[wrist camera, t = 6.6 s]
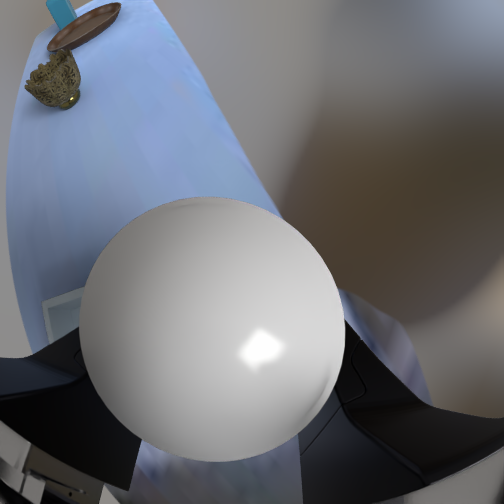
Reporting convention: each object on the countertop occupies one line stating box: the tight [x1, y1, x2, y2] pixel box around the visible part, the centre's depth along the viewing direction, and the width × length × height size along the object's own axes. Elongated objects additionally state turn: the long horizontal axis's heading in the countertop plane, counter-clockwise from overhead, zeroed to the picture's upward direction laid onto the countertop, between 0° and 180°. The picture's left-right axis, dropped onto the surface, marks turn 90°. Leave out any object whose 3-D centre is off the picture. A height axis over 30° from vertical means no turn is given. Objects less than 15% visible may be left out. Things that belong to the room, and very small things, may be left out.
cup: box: [25, 48, 81, 110], centre depth 23 cm, size 8×7×8 cm
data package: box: [46, 0, 77, 31], centre depth 29 cm, size 12×4×12 cm, turn 32°
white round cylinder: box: [79, 197, 345, 462], centre depth 9 cm, size 4×4×11 cm
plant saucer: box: [47, 2, 121, 52], centre depth 31 cm, size 18×18×3 cm
